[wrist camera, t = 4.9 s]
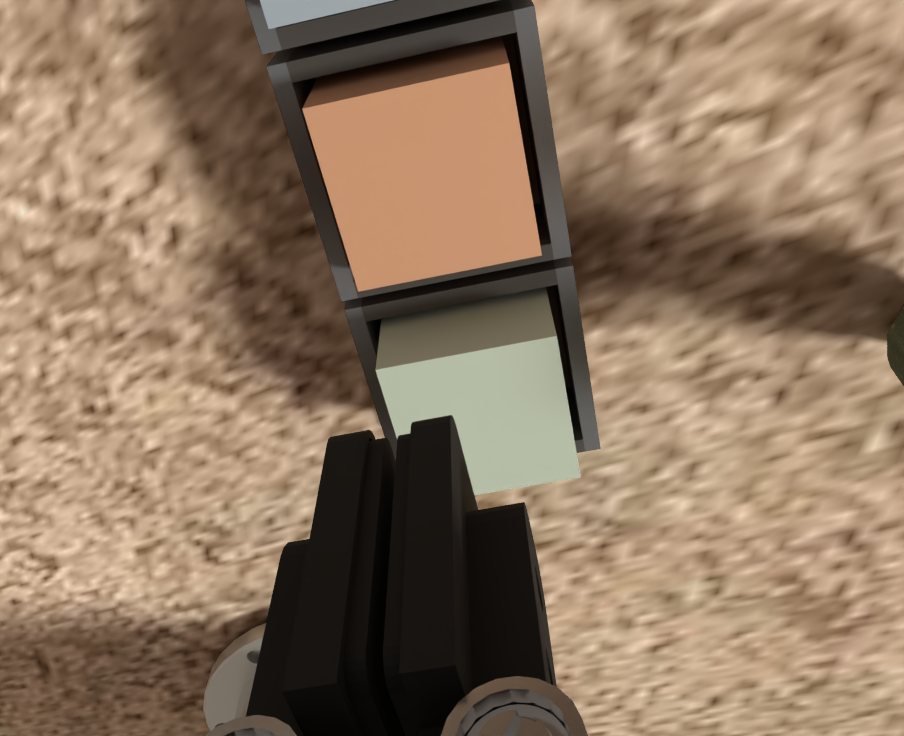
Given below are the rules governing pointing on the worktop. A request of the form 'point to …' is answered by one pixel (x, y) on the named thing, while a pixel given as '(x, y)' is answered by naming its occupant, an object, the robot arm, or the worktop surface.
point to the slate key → (307, 9)
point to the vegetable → (896, 346)
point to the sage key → (485, 386)
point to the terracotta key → (425, 164)
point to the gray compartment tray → (513, 17)
